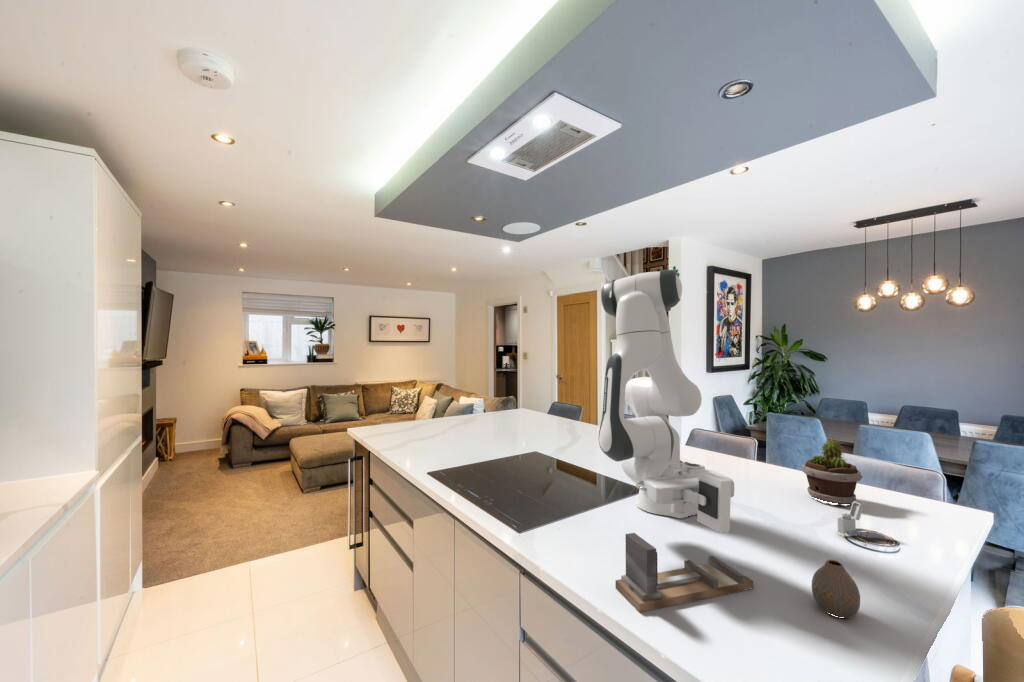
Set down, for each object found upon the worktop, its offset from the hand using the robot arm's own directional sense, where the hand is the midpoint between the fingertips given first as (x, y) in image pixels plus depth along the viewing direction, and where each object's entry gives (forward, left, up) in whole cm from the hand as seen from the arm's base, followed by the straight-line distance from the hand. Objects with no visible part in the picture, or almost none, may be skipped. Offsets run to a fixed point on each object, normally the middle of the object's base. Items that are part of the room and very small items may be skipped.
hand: (716, 500), depth 83 cm
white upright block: (0, -1, -5) cm, 6 cm away
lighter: (-51, -9, -17) cm, 54 cm away
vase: (-14, +13, -17) cm, 26 cm away
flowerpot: (-71, -28, -17) cm, 78 cm away
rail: (+7, -1, -17) cm, 18 cm away
